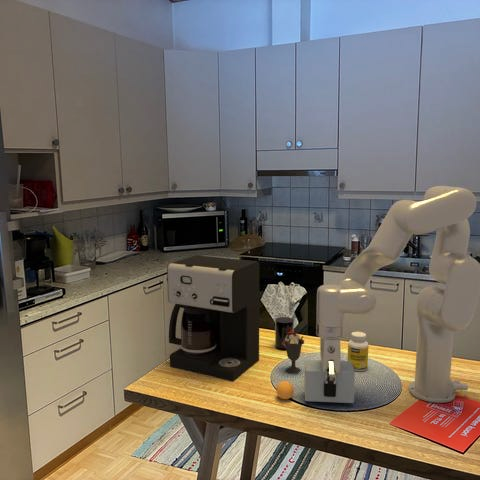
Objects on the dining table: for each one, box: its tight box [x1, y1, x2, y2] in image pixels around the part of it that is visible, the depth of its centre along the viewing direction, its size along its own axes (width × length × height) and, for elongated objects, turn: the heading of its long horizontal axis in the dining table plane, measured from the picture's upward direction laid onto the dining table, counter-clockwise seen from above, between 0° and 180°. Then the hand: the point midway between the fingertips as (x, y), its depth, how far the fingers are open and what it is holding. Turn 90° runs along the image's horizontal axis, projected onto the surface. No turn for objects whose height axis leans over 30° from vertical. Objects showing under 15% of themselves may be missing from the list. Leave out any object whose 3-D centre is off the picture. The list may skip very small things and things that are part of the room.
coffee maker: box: [166, 254, 260, 382], centre depth 161 cm, size 28×20×35 cm
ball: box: [275, 380, 295, 400], centre depth 138 cm, size 5×5×5 cm
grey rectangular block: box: [303, 359, 356, 404], centre depth 136 cm, size 13×8×9 cm, turn 84°
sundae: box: [283, 326, 305, 374], centre depth 156 cm, size 7×7×15 cm
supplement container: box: [274, 316, 295, 351], centre depth 176 cm, size 7×7×10 cm
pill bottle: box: [346, 331, 370, 372], centre depth 158 cm, size 6×6×12 cm
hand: (328, 388), depth 137 cm, fingers closed on grey rectangular block, 7 cm apart
